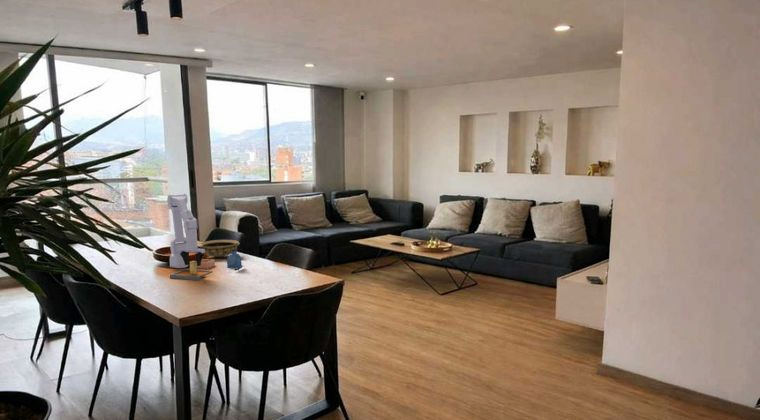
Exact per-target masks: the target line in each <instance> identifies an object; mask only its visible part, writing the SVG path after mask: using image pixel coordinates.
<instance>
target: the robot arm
mask: <svg viewBox="0 0 760 420" xmlns="http://www.w3.org/2000/svg"><path fill="white" fill-rule="evenodd" d="M166 200H167V207H168V209H169V210H171V214H172V221H173V222H172V223H173V229H174V238H173V239H172V240H171V241H170V247H169V248H170V252H171V255H170V256H169V268H175V269H186V268H187V267H189V265H190V261H189V259H190V258H189V255H190V253H195V254H194V255H195V258H196V262H197V266H200V265H201V261H202V259H204V255H205V254H204V253H205V249H201V247H200V248H199V247H198V232H197V231H198V229H199V220H198V219H197V218H196V217H194V215H193V213H192V211H191V210H190V209H188V205H187V204H188V201H189V200H188V195H187V194H186V193H176V194H175V193H174V194H170V193H169V194H168V195H167V199H166ZM184 233H185V236H184Z"/></svg>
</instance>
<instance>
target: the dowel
mask: <svg viewBox="0 0 760 420" xmlns="http://www.w3.org/2000/svg"><path fill="white" fill-rule="evenodd" d="M196 262H197V260H190V261H189V269H190V271H189V274H190V275H196V274H197V271H196V270H197V268H196Z"/></svg>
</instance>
